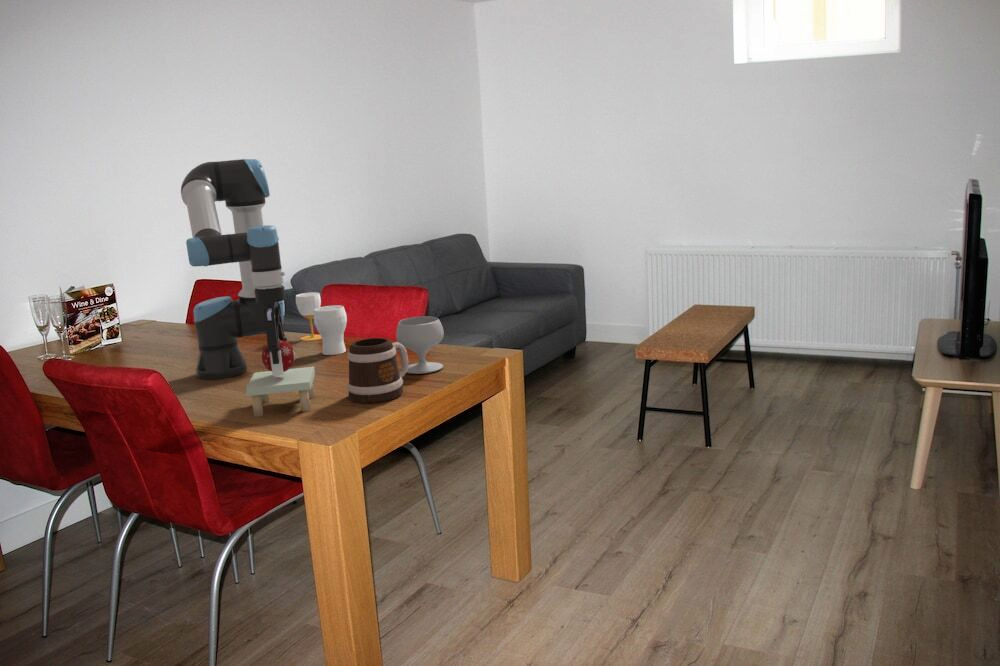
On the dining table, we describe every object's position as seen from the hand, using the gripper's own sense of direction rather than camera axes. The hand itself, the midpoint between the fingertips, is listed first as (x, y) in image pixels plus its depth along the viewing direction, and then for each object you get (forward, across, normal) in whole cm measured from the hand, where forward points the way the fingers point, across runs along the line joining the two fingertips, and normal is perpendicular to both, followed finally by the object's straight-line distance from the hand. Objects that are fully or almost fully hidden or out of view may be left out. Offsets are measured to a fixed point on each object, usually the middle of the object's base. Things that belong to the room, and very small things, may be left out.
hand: (280, 370), depth 224 cm
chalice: (+10, +23, -38) cm, 45 cm away
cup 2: (+10, +83, -1) cm, 84 cm away
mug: (+10, +2, -26) cm, 28 cm away
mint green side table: (+10, 0, 0) cm, 10 cm away
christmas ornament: (+1, 0, 0) cm, 1 cm away
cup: (+10, +57, -10) cm, 59 cm away
